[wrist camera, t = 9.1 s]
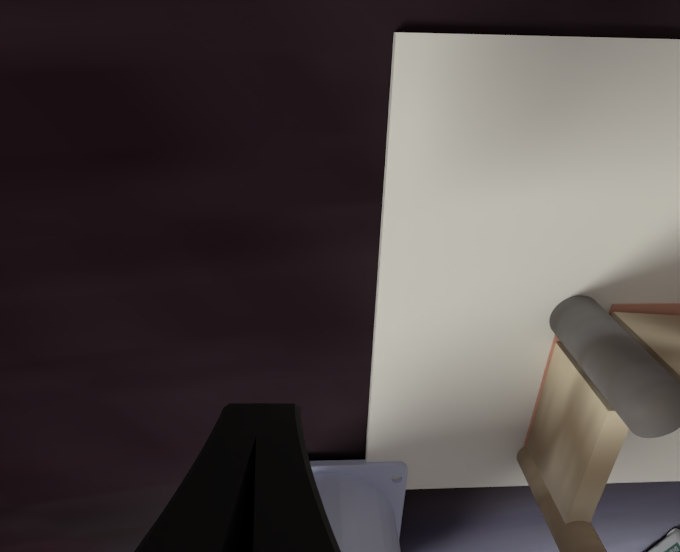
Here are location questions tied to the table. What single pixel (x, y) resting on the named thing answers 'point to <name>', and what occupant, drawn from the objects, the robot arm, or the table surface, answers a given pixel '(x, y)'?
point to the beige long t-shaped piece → (655, 336)
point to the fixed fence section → (591, 417)
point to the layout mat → (515, 237)
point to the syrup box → (669, 542)
